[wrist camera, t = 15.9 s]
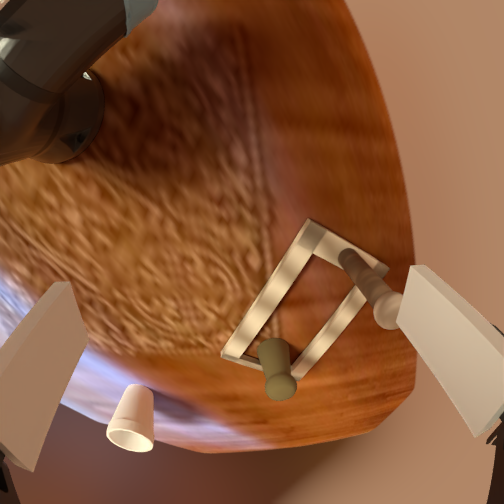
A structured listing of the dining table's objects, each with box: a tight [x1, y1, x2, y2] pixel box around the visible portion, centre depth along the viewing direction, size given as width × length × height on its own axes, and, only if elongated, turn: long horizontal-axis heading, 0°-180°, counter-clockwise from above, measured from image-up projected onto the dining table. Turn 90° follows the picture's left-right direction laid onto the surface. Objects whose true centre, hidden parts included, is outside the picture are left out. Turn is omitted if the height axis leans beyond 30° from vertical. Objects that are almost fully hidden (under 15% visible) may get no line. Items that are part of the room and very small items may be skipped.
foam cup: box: [107, 384, 154, 452], centre depth 49 cm, size 10×9×13 cm
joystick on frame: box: [221, 218, 403, 381], centre depth 41 cm, size 28×17×18 cm, turn 151°
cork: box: [257, 338, 297, 401], centre depth 47 cm, size 6×6×11 cm
